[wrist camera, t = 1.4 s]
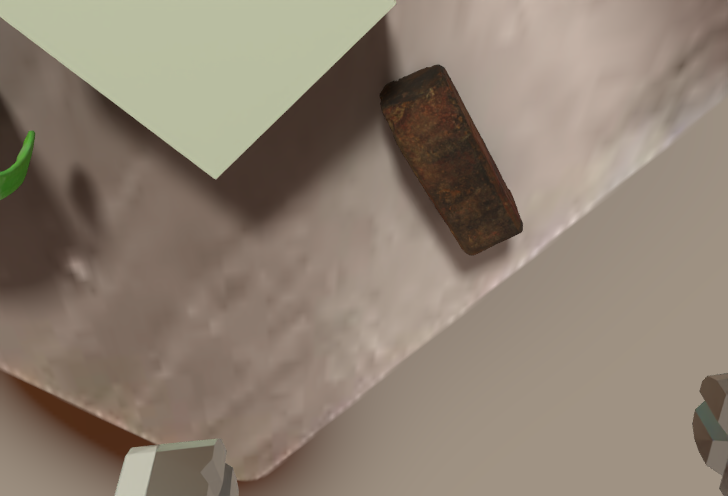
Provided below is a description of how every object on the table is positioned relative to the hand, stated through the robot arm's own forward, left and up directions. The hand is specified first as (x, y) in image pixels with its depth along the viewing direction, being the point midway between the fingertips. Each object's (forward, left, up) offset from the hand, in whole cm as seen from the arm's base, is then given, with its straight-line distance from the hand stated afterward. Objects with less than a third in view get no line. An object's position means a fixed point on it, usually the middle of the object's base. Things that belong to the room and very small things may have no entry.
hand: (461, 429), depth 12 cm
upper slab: (+6, -5, -25) cm, 27 cm away
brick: (+2, +11, -29) cm, 31 cm away
